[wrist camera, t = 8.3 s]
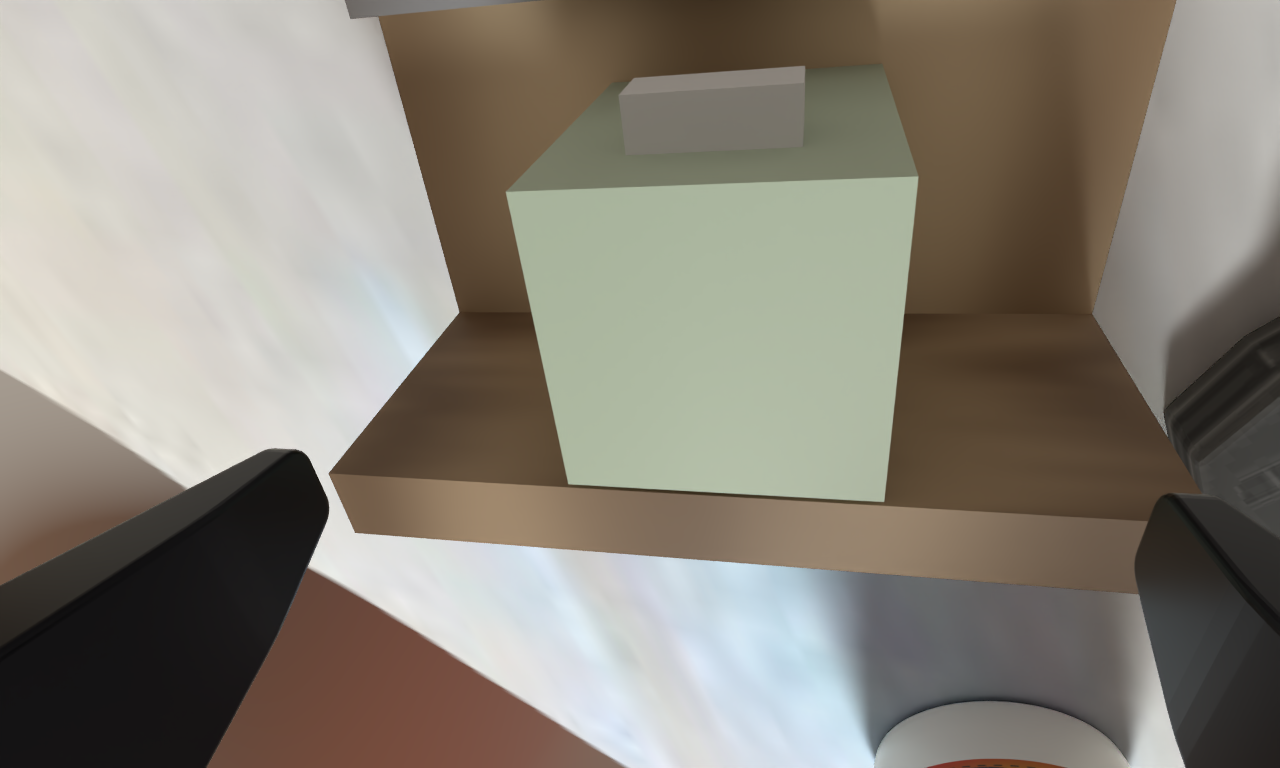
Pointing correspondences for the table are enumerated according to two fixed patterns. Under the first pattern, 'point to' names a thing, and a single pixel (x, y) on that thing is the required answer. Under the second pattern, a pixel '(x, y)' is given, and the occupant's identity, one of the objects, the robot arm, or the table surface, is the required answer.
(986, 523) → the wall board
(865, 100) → the cabinet block
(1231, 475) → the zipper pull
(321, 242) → the table surface
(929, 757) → the fruit juice
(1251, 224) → the table surface
